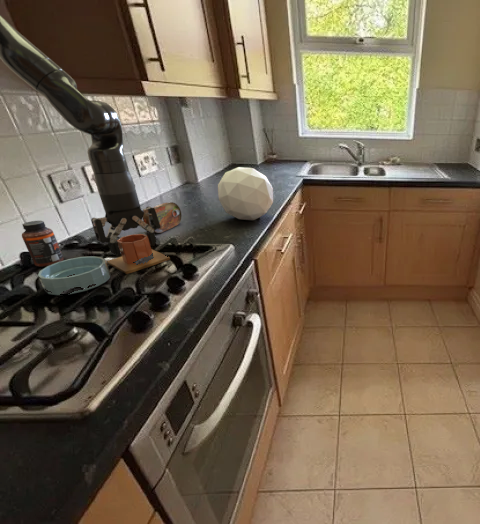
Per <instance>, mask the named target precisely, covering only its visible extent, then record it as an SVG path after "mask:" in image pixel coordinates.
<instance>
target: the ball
mask: <svg viewBox="0 0 480 524" xmlns="http://www.w3.org/2000/svg"><path fill="white" fill-rule="evenodd" d="M217 194H218V201H219V203H220V204H221V206H222V208H223V210H224V212H225V213H226V214H228V215H230V216H232V217H234V218H236V219H238V220H245V221H255V220H257V219H259V218H261V217H263V216H264V215H267V213H268V211H269V209H270V208H271V207H272V205H273V204H274V188H273V185H272V183H270V181H269V179H268V177H267V176H266V175H265V174H263V173H262V172H260V171H258V170H257V169H255V168H253V167H243V166H238V167H235V168H232V169H230V170H227V171H225V172H224V174H223V175H222V177H221V179H220V181H219V182H218V183H217Z"/></svg>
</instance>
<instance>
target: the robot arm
mask: <svg viewBox="0 0 480 524" xmlns="http://www.w3.org/2000/svg"><path fill="white" fill-rule="evenodd" d="M0 60H1V61H2V63H3V64H4V65H5V66H6V67H8V69H9V70H10V71H12V73H14V74H15V75H16V76H17V77H18V78H19V79H20V80H22V81H23V82H24V83H26V84H27V85H28V86H29V87H31V88H32V89H33V90H34V91H36V92H37V93H38V94H39V95H41V96H42V97H44V98H45V99H46V100H47V101H48V103H49V104H50V105H51V106H52V107H53V109H55V111H56V112H57V113H58V114H59V115H60V116H61V117H62V118H63V119H64V120H65V121H66V122H67V123H68V124H69V125H70V126H71V127H73V128H74V129H75V130H78V131H79V132H81V133H83V134H85V135H90V138H91V145H90V146H89V148H88V149H87V157H88V161H89V163H90V167H91V170H92V172H93V177H94V183H95V187H96V190H97V192H98V195H99V199H100V201H101V205H102V207H103V210H104V213H105V215H104V216H103V217H91V220H90V221H91V225H92V229H93V232H94V235H95V238H96V239H95V240H97V241H98V242H100V243H102V244H105V243H106V244H108V248H109V250H110V253H111V254H113V255H114V256H116V257H121V256H122V255H121V252H120V249H119V246H118V243H117V240H118V237H119V236H120V235H121V233H122V231H124V232H125V231H129V230H131V229H137V228H138V227H140V228H142V229H143V230H144V231H145V235H146V236H148V239H149V243H150V246H151V247H154V246H156V243H157V238H156V233H154V231H155V230H156V229H159V228H160V227H161V226H160V223H159V220H158V217H157V214H156V211H155V209H154V208H152V207H153V206H148V205H147V206H146V207H145V208H141V204H140V200H139V196H138V193H137V189H136V184H135V182H134V180H133V177H132V174H131V172H130V168H129V165H128V162H127V159H126V155H125V153H124V136H123V135H124V134H123V126H122V121H121V118H120V116H119V114H118V113H117V111H116V110H115V108H114V107H113V106H111V105H110V104H109V103H107V102H104V101H102V100H90V99H88V98H87V97H86V96H84V95H83V94H82V92H80V91H79V90H78V85H77V83H76V80H75V79H74V78H72V76H71V75H69V73H68V72H66V71H65V70H64V69H63V68H62V67H60V65H58V64H57V63H56V62H55V61H53V59H51V58H50V57H49V56H47V55H46V54H45V53H44V52H43V51H42V50H40V49H39V48H38V47H36V46H35V44H33V43H32V42H31V41H30V40H29V39H27V37H26V36H24V35H22V34H21V32H19V31H18V29H16V28H15V27H14V26H12V25H11V24H10V23H9V22H8V20H6V19H5V18H4V17H3V16H2V15H1V14H0ZM144 213H145V214H146V215H147V216H148V217H149V219H150V222H151V225H150V226H149V225H148V224H146V223H145V222H144V221H143V216H144ZM106 223H108V224H109V225H110V226H109V228H108V232H107V235H106V233H105V229H104V227H105V226H106Z"/></svg>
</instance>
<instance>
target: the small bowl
mask: <svg viewBox="0 0 480 524" xmlns="http://www.w3.org/2000/svg"><path fill="white" fill-rule="evenodd" d="M116 242H117V244H118V247H119V250H120V253H121V255H120V256H121V257H122V258H123V261H124V262H125V263H127V264H136V263H133V262H135V261H137V260H139V259H141V258H144V257H148V256H150V255H151V254H152V250H151V249H152V246H151V245H150V243H149V239H148V236H146V234H144V233H138V234H137V233H135V234H134V233H133V234H128V235H124V236H122V237H120V238H118V239H116Z"/></svg>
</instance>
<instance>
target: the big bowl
mask: <svg viewBox="0 0 480 524" xmlns="http://www.w3.org/2000/svg"><path fill="white" fill-rule="evenodd" d="M108 266H109V265H108V263H107V260H106V259H105V258H103V257H101V256H94V255H93V256H92V255H91V256H79V257H74V258H73V257H72V258H68V259H65V260H63V261H61V262H57V263H54V264H52V265H49V266H45V267H44V268H42V269H41V270H39V272H38V274H37V277H38V279H39V281H40V284H41V287H42V288H43V290H44V292H45V293H46V294H48V295H52V296H53V295H54V296H61V295H60V294H61V292H63V291H66V290H68V289H70V288H74V287H81V288H85V289H83V290H78V291H74V292H72V293H70V294H69V295H73V294H77V293H78V294H79V293H83V292H86V291H89V290H92V289H94V288H97V287H99V286H101V285H103V284H105V283H106V282H107V281H108V280H109V279H110V278H111V272H110V269H109V267H108ZM73 274H75V275H73ZM69 275H72V276H69ZM67 276H69V277H67ZM92 284H96V285H95V286H92V287H89V288H87V287H88V286H89V285H92ZM45 289H46V290H48V291H51V292H52V293H51V292H47V291H46V290H45Z"/></svg>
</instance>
